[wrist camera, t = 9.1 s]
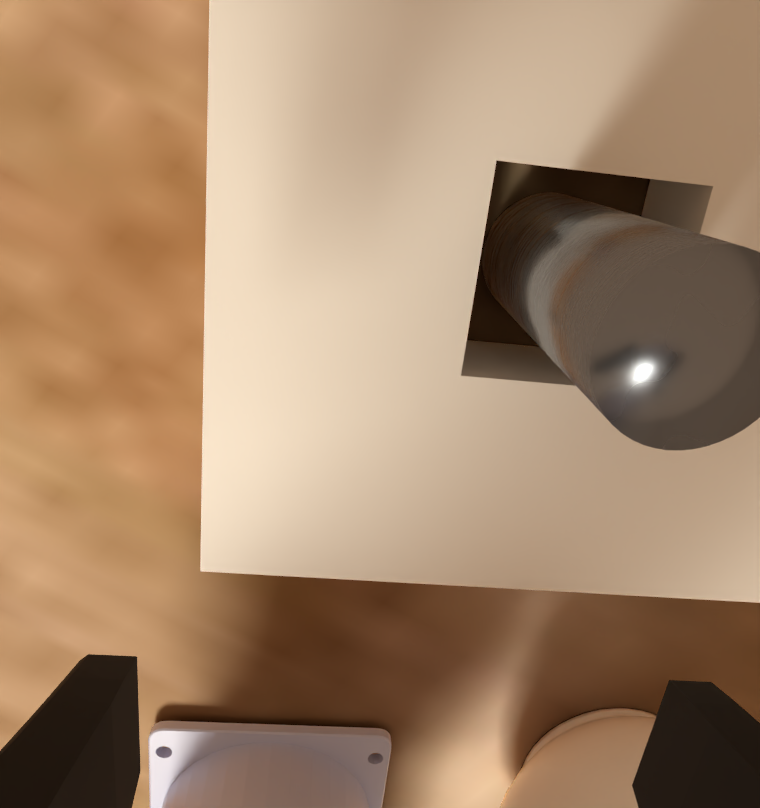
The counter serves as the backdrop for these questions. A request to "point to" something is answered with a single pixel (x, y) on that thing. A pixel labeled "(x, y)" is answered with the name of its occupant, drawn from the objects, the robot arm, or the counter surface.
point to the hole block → (454, 292)
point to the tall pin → (635, 315)
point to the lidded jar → (584, 762)
